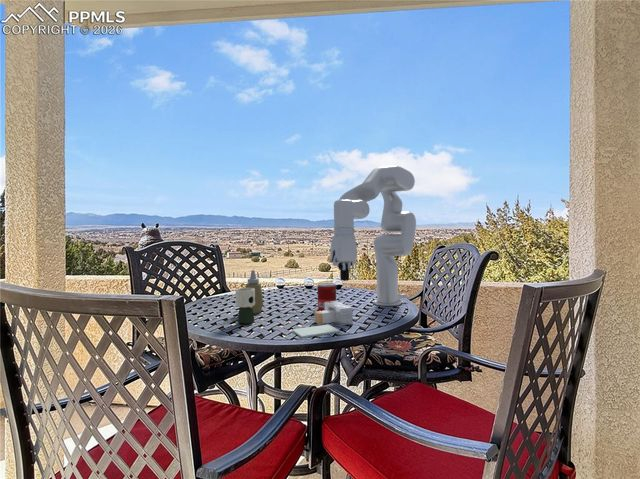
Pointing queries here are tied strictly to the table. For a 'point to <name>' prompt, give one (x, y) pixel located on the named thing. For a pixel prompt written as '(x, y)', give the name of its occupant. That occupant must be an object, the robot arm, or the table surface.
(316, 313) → the plug bar
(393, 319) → the table surface
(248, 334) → the table surface
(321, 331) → the sage mat
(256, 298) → the squeeze bottle
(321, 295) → the canned food
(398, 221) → the robot arm
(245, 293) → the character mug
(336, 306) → the housing
